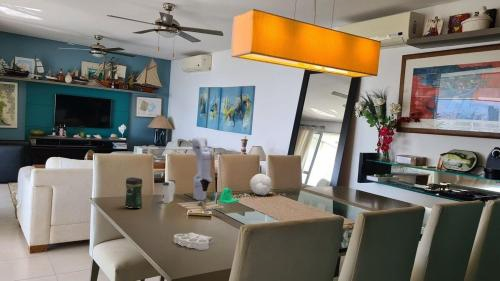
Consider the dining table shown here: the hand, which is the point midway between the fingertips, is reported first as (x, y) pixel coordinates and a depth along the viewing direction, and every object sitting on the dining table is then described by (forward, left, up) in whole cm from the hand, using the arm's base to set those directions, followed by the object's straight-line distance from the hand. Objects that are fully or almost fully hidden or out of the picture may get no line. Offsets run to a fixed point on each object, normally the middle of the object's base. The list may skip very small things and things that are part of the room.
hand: (204, 191), depth 248 cm
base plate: (+4, -5, -9) cm, 11 cm away
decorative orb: (-14, +56, -10) cm, 59 cm away
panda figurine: (-13, -19, -10) cm, 25 cm away
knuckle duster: (+64, -40, -10) cm, 76 cm away
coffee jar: (-12, -42, -10) cm, 45 cm away
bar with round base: (+8, -5, -8) cm, 12 cm away
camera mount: (+2, +18, -10) cm, 20 cm away
